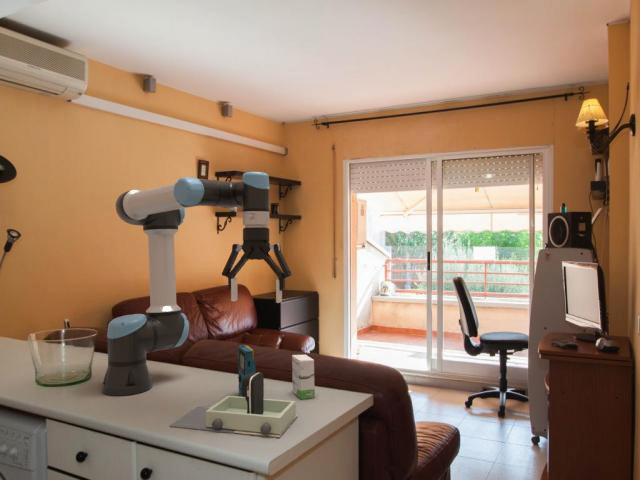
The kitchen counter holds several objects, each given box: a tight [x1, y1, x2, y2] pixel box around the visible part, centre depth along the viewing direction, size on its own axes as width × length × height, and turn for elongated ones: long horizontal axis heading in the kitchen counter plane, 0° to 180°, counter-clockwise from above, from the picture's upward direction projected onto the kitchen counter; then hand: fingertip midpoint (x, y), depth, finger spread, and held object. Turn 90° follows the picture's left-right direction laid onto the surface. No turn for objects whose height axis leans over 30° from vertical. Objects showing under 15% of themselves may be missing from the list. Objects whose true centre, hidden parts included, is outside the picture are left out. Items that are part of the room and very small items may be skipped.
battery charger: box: [240, 372, 265, 415], centre depth 134 cm, size 7×4×11 cm, turn 162°
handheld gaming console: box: [237, 344, 256, 397], centre depth 156 cm, size 10×4×15 cm, turn 23°
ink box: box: [291, 354, 316, 400], centre depth 158 cm, size 9×5×12 cm, turn 20°
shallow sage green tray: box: [206, 395, 297, 435], centre depth 134 cm, size 20×15×4 cm
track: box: [169, 406, 298, 439], centre depth 135 cm, size 30×15×1 cm, turn 75°
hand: (256, 301), depth 144 cm, fingers open, 13 cm apart
